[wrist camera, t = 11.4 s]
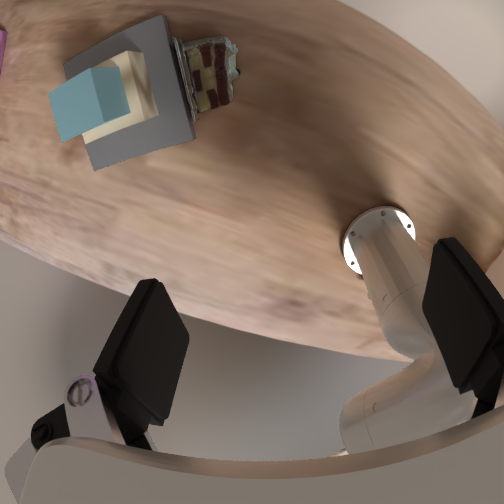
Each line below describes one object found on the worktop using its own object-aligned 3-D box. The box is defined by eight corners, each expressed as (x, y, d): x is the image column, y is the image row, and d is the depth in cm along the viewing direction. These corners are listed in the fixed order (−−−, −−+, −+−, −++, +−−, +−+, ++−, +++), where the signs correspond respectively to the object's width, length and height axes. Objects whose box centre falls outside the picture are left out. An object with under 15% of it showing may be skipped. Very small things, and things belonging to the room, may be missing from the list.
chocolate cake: (248, 116, 32) (252, 43, 21) (194, 130, 32) (177, 59, 20) (228, 71, 34) (226, 6, 22) (181, 83, 33) (166, 18, 22)
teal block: (130, 112, 26) (104, 122, 21) (91, 129, 27) (62, 142, 22) (119, 66, 23) (90, 67, 18) (79, 87, 24) (48, 93, 19)
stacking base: (195, 137, 34) (183, 148, 29) (99, 167, 36) (78, 182, 31) (166, 16, 24) (148, 6, 19) (69, 63, 26) (43, 66, 21)
